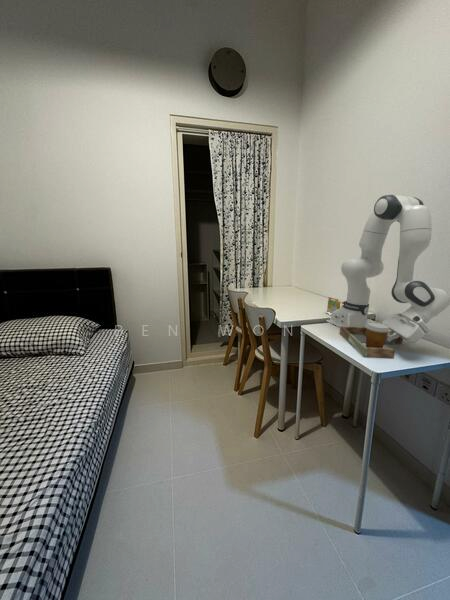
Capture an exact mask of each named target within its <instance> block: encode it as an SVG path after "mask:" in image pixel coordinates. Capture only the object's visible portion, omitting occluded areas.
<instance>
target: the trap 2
mask: <svg viewBox="0 0 450 600" xmlns="http://www.w3.org/2000/svg"><path fill="white" fill-rule="evenodd" d="M384 345H396V346H398V345H399V343H397V342H396V341H394V340H393V339H392V340H391V341H390V342H389V341H387V340H385V343H384Z"/></svg>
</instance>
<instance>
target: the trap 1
mask: <svg viewBox="0 0 450 600" xmlns="http://www.w3.org/2000/svg"><path fill="white" fill-rule="evenodd" d="M352 335H353V336H354V337H355V338H357V339H358V340H359V341H360V342H361V343H362V344H366V336H365V335H357V334H352Z"/></svg>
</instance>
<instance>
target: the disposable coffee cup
mask: <svg viewBox="0 0 450 600" xmlns="http://www.w3.org/2000/svg"><path fill="white" fill-rule="evenodd" d="M365 326H366V343H365V346H366V347H371V348H384V345H385V344H384V343H385V340H386V337H387V334H388V332H389V331H390V329H389V326H388V325H387V324H384V323H382V322H380V321H367V324H366V325H365Z"/></svg>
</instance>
